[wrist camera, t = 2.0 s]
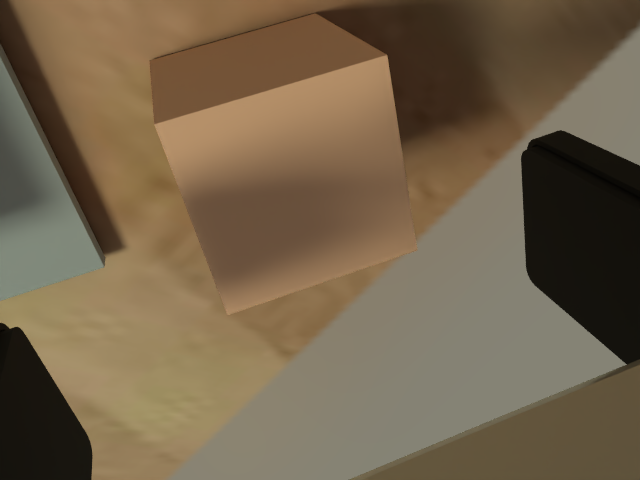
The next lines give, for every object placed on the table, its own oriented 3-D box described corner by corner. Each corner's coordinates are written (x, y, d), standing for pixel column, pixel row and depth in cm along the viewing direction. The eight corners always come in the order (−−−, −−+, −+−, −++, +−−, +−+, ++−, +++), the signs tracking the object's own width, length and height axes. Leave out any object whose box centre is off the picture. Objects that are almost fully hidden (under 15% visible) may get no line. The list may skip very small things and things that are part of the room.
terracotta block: (315, 13, 18) (386, 54, 12) (347, 164, 20) (417, 250, 15) (149, 60, 17) (154, 124, 12) (204, 210, 20) (227, 315, 15)
